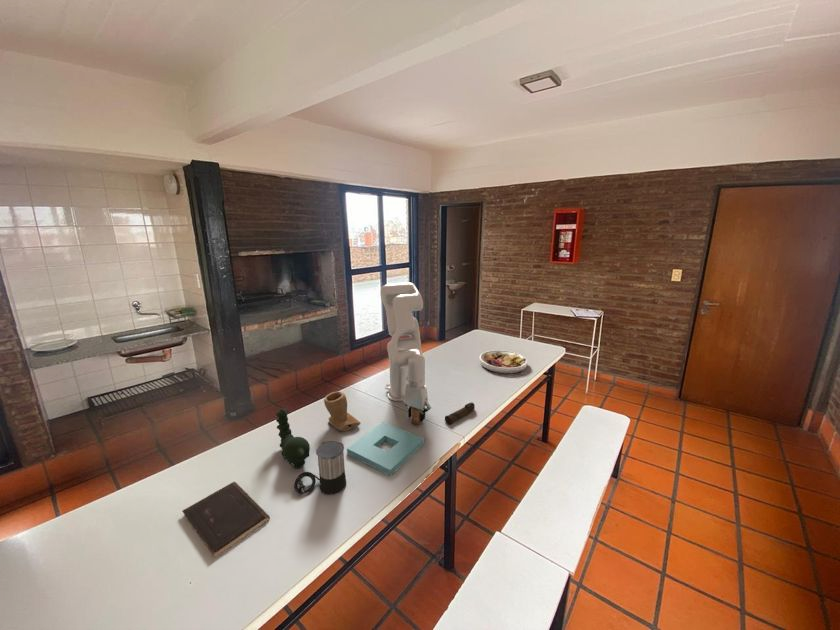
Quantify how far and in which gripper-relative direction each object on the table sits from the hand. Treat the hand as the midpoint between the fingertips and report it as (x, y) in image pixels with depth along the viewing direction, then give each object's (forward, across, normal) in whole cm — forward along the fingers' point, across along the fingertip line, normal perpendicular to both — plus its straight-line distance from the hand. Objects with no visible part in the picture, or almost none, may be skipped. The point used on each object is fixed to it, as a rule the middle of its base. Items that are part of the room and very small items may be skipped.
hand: (416, 417), depth 152 cm
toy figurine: (+3, -27, -46) cm, 53 cm away
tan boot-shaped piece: (+3, -28, -20) cm, 35 cm away
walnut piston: (+3, 0, 0) cm, 3 cm away
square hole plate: (+3, 0, -22) cm, 22 cm away
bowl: (+3, +10, +85) cm, 86 cm away
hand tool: (+3, +14, +16) cm, 22 cm away
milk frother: (+3, -6, -50) cm, 51 cm away
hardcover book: (+3, -21, -75) cm, 78 cm away
